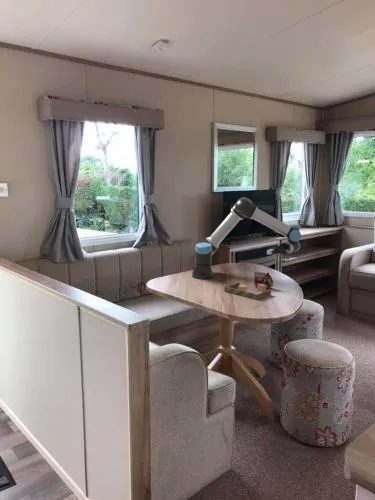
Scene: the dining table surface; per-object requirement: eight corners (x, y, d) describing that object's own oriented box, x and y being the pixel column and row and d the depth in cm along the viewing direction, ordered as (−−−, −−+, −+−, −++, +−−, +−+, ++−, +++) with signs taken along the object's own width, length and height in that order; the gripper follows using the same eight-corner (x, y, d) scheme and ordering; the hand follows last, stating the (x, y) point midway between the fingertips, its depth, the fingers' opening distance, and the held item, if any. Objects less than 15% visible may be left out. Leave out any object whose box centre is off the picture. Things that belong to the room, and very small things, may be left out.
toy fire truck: (272, 290, 264) (274, 274, 263) (253, 288, 266) (254, 272, 265) (272, 287, 271) (273, 271, 269) (253, 285, 273) (254, 270, 271)
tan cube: (256, 290, 262) (257, 284, 261) (260, 289, 265) (260, 283, 264) (262, 292, 259) (262, 286, 258) (265, 291, 262) (266, 284, 261)
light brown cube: (237, 285, 257) (242, 284, 260) (237, 291, 258) (241, 290, 260) (242, 287, 254) (247, 286, 257) (242, 293, 255) (246, 292, 257)
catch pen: (224, 291, 258) (224, 286, 257) (238, 286, 269) (238, 282, 268) (257, 300, 242) (257, 295, 242) (270, 295, 253) (271, 290, 253)
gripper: (277, 241, 288) (259, 245, 271) (294, 244, 280) (277, 248, 262) (276, 252, 289) (258, 256, 272) (293, 255, 281) (276, 259, 263)
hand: (267, 252), depth 267 cm, fingers closed
